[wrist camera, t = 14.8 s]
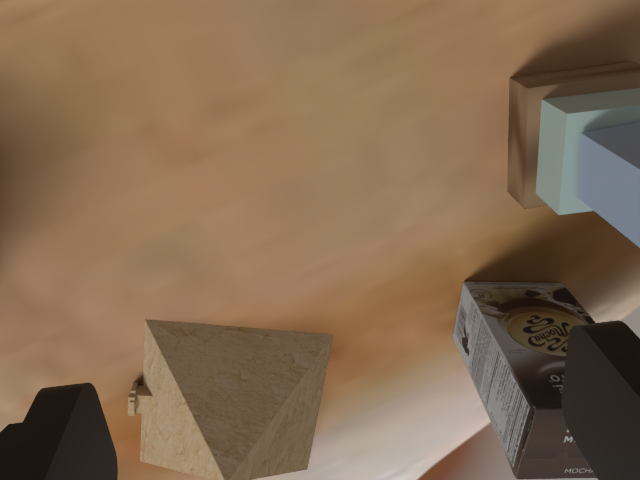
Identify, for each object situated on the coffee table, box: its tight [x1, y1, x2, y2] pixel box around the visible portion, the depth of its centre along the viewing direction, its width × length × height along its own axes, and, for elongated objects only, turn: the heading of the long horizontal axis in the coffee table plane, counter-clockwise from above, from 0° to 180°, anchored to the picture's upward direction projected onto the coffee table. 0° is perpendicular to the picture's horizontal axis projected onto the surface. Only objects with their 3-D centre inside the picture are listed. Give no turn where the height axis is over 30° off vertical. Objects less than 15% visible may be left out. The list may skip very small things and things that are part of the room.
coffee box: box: [453, 281, 597, 479], centre depth 47 cm, size 9×6×16 cm
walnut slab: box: [507, 61, 640, 209], centre depth 46 cm, size 9×9×4 cm
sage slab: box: [536, 88, 640, 215], centre depth 42 cm, size 7×7×4 cm
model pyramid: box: [128, 320, 333, 480], centre depth 52 cm, size 17×17×10 cm
